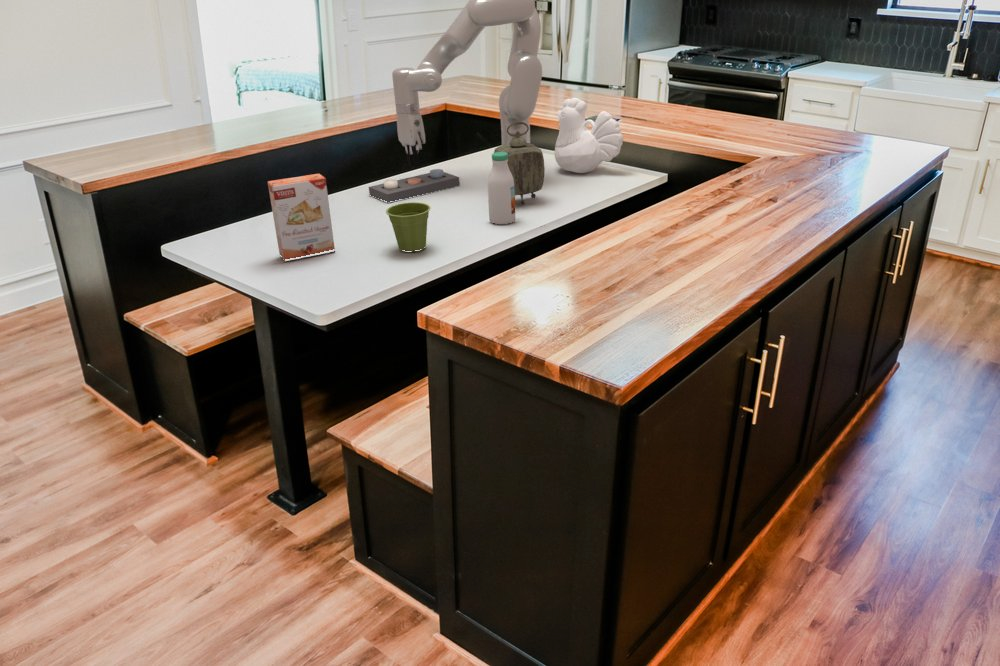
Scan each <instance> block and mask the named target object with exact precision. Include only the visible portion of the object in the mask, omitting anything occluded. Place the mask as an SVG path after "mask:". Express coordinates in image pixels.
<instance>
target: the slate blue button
mask: <svg viewBox="0 0 1000 666" xmlns="http://www.w3.org/2000/svg"><path fill="white" fill-rule="evenodd" d="M443 172H444V170H443V169H441V168H435V169H434V168H433V169H431V170H429V173H430V178H432V179H439V178H443Z"/></svg>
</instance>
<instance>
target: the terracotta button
mask: <svg viewBox="0 0 1000 666" xmlns="http://www.w3.org/2000/svg"><path fill="white" fill-rule="evenodd" d="M418 183H421V179H420V178H411V179H408V184H411V185H414V184H418Z"/></svg>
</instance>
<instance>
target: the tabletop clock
mask: <svg viewBox="0 0 1000 666" xmlns="http://www.w3.org/2000/svg"><path fill="white" fill-rule="evenodd" d="M516 124H523V125H525V126H526V127H527V131H526V132H524V133H521V134H520V132H519V131H517V132H516V134H511V133H509V132H508V129H509V128H510V127H511V126H513V125H516ZM528 130H529V127H528V125H527V124H526V123H524V122H515V123H512V124H510V125H509V126H508V128H507V133H508V134H509V135H510V136H515V138H513V139H512V140H511V142H510V144H506V145H502V144H501V145H500V146H497V147H495V148H494V151H493V153H496V152H506V153H508V161H507V164H508V167H509V170H510V172H511V174H512V176H513V180H514V189H515V196H520V200H519V204H520V205H521V206H524V205H525V204H526V200H524V195H528V194H531V195H530V197H531V199H535V198H536V197H537V195H536V192H539V191H541V190H542V189H543V186H544V182H545V169H546V168H545V158H544V153H543V150H542V148H539V147H538V146H536V145H535V144H532V143H531V142H530V143H526V141H525V139H524V138H522V137H520V136H522V135H524V134H526V133H527V132H528Z"/></svg>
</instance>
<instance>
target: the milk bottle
mask: <svg viewBox="0 0 1000 666" xmlns="http://www.w3.org/2000/svg"><path fill="white" fill-rule="evenodd" d="M507 161H508V153H506V152H496V153H494V152H493V153H491V162H492V168H491V170H490V173H489V175H488V176H489V177H488V180H487V197H488V200H487V202H488V213H489V214H488V219H489V222H490V223H491V224H493V223H495V224H494V225H497V224H506V225H509V224H508V223H510V224H513V223H515V221H516V195H515V189H514V180H513V176H512V174H511V172H510V170H509V167H508V164H507ZM512 222H513V223H512Z"/></svg>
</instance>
